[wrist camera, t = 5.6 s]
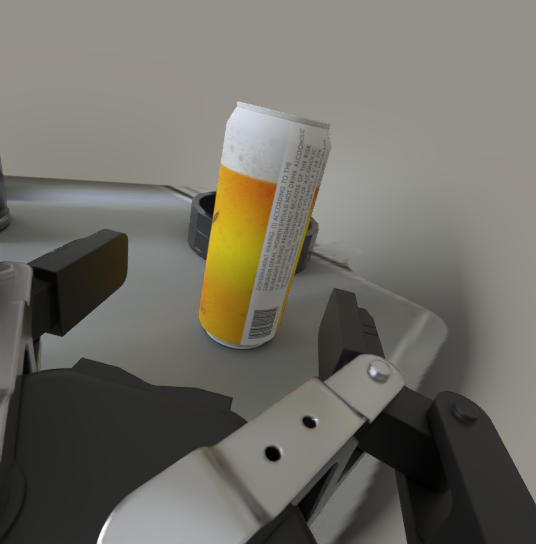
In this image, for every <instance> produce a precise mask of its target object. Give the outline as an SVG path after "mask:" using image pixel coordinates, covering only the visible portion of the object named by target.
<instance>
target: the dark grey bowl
mask: <svg viewBox="0 0 536 544" xmlns="http://www.w3.org/2000/svg"><path fill="white" fill-rule="evenodd" d="M216 193H217V192H207V193H202V194H198V195H197V196H195V197H194V198H192V206H191V215H190V223H189V233H188V242H189V245H190V247H191V248H192V249H193V250H194V251H195V252H196V253H197V254H198V255H199V256H201V257H202V258H204V259H205V260H207V254H208V247H209V240H210V234H211V227H212V220H213V213H214V207H215V200H216ZM317 234H318V223H317V222H316V221H315V220H314V219H313V218H312V217H311V219H310V222H309V225H308V229H307V232H306V236H305V239H304V243H303V246H302V250H301V253H300V256H299V260H298V263H297V267H296V270H295V273H298V272H300V271H302V270H303V269H304V268H305V267H306V266H307V264H308V261H309V260H310V257H311V253H312V250H313V247H314V244H315V240H316V237H317Z"/></svg>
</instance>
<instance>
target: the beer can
mask: <svg viewBox="0 0 536 544" xmlns="http://www.w3.org/2000/svg"><path fill="white" fill-rule="evenodd" d="M329 127H330V124H327V123H323V122H319V121H315V120H311V119H307V118H303V117H299V116H295V115H291V114H287V113H283V112H279V111H275V110H271V109H267V108H263V107H259V106H255V105H250V104H246V103H242V102H238V103H237V108H236V109H235V111H234V112H233V114H232V115H231V117H230V119H229V120H228V121H227V126H226V133H225V140H224V146H223V153H222V160H221V166H220V173H219V180H218V186H217V193H216V200H215V207H214V213H213V220H212V227H211V234H210V240H209V247H208V254H207V260H206V267H205V274H204V281H203V287H202V294H201V301H200V308H199V320H200V323H201V324H202V326H203V327H204V328H205V330H206V331H207V333H208V334H209V336H210V337H211V338H212V339H214V340H215V341H217V342H218V343H220V344H222V345H225V346H228V347H231V348H237V349H250V348H255V347H258V346H260V345H262V344H263V343H265V342H266V341H268V340H270V339H272V338H273V337H274V336H275V335H276V333H277V332H278V329H279V325H280V322H281V319H282V315H283V312H284V308H285V305H286V301H287V298H288V294H289V291H290V287H291V284H292V281H293V277H294V274H295V270H296V267H297V263H298V260H299V256H300V253H301V250H302V246H303V243H304V239H305V236H306V232H307V229H308V225H309V222H310V219H311V215H312V212H313V208H314V205H315V201H316V198H317V194H318V191H319V187H320V184H321V180H322V177H323V174H324V170H325V167H326V163H327V160H328V156H329V152H330V149H331V144H330V137H329V130H328V129H329Z"/></svg>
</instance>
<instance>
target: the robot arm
mask: <svg viewBox="0 0 536 544" xmlns="http://www.w3.org/2000/svg"><path fill="white" fill-rule="evenodd" d="M10 221H11V218H10V211H9V208H8V207H7V200H6V194H5V187H4V178H3V173H2V165H1V158H0V230H1V229H3V228H4V227H6V226H7V225H8V224H9V223H10ZM127 269H128V237H127V235H126V234H124V233H120V232H116V231H112V230H108V229H103V230H101V231H99V232H97V233H95V234H93V235H91V236H89V237H87V238H82V239H78V240H74V241H71V242H69V243H67V244H65V245H63V247H59V248H57V249H55V250H54V251H53V252H49V253H47V254H45V255H43V256H41V257H39V258H37V259H35V260H33V261H31V262H29V263H27V264H24V263H19V262H0V544H317V542H316V540H315V538H314V536H313V534H312V532H311V531H310V529H309V527H310V525H311V524H312V523H313V522H314V520H315V519H316V518H317V516H318V515H319V513H320V512H321V510H322V509H323V507H324V506H325V504H326V503H327V501H328V500H329V498H330V497H331V496H332V494H333V493H334V492H335V490H336V489H337V488H338V487H339V486H340V484H341V483H342V482H343V481H344V479H345V478H346V477H347V476H348V475H349V473H350V472H351V471H352V470H353V468H354V467H355V466H356V465H357V464H358V462H359V461H360V460H361V459H362V457H363V456H364V455H365V454H366V452H367V453H368V454H370V455H372V456H373V457H375V458H377V459H379V460H380V461H382V462H384V463H386V464H388V465H389V466H391V467H392V468H394V469H395V475H396V481H397V486H398V493H399V498H400V504H401V510H402V515H403V521H404V527H405V533H406V539H407V544H536V504H535V502H534V500H533V498H532V496H531V495H530V493H529V491H528V489H527V487H526V485H525V483H524V481H523V480H522V478H521V476H520V474H519V472H518V470H517V468H516V466H515V464H514V463H513V461H512V459H511V457H510V455H509V453H508V451H507V449H506V447H505V446H504V444H503V442H502V440H501V438H500V436H499V434H498V432H497V431H496V429H495V427H494V425H493V423H492V421H491V419H490V418H489V417H488V415H487V414H486V413H485V412H484V411H483V410H482V409H481V408H480V407H479V406H478V405H477V404H475V403H474V402H473V401H471V400H469V399H468V398H466V397H464V396H462V395H460V394H457V393H454V392H449V391H443V392H440V393H438V394H437V396H436V397H435V399H434V400H431V399H428V398H427V397H425V396H423V395H421V394H419V393H417V392H415V391H413V390H411V389H409V388H407V387H406V386H404V378H403V375H402V374H401V372H400V371H399V370H398V369H397V367H395V366H394V365H393V364H392V363H391V362H389V361H387V360H386V359H385V356H384V353H383V350H382V346H381V343H380V340H379V337H378V333H377V330H376V326H375V323H374V320H373V318H372V316H371V315H370V314H369V313H368V312H367V311H366V309H363V308H359V307H358V306H357V302H356V297H355V294H354V293H352V292H348V291H344V290H340V289H337V288H334V289H333V291H332V293H331V296H330V299H329V302H328V304H327V307H326V310H325V313H324V316H323V319H322V321H321V325H320V328H319V334H318V359H319V378H318V377H313V378H311V379H309V380H308V381H306V382H305V383H304V384H302V385H301V386H299V387H298V388H296V389H295V390H294V391H292V392H291V393H289V394H288V395H286V396H285V397H284V398H282V399H281V400H279V401H278V402H276V403H275V404H274V405H272V406H271V407H269V408H268V409H266V410H265V411H264V412H262V413H261V414H259V415H258V416H257V417H255V418H254V419H252V420H251V421H249V422H247V421H246V420H245V419H243V418H242V417H241V416H239V415H238V414H236V413H234V412H233V411H231V410H230V408H231V404H232V400H233V398H232V397H228V396H224V395H221V394H217V393H213V392H209V391H206V390H202V389H198V388H190V387H171V386H155V385H151V384H149V383H147V382H145V381H143V380H141V379H139V378H137V377H136V376H134V375H132V374H130V373H128V372H126V371H125V370H123V369H121V368H119V367H115V366H112V365H108V364H104V363H100V362H97V361H93V360H89V359H85V358H81V359H80V360H79V361H78V362H77V363H76V364H75V365H74V366H73V367H72V368H62V369H50V370H43V371H40V370H41V347H42V343H41V335H43V334H44V333H45V332H46V333H50V334H53V335H57V336H61V337H63V336H64V335H65V334H66V333H67V332H68V331H70V330H71V329H72V328H73V327H74V326H75V325H77V324H78V323H79V322H80V321H81V320H82V319H84V318H85V317H86V316H87V315H88V314H89V313H91V312H92V311H93V310H94V309H95V308H96V307H98V306H99V305H100V304H101V303H102V302H103V301H105V300H106V299H107V298H108V297H109V296H110V295H112V294H113V293H114V292H115V291H116V290H117V289H119V288H120V287H121V286H122V285H123V283H124V281H125V279H126V276H127Z"/></svg>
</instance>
